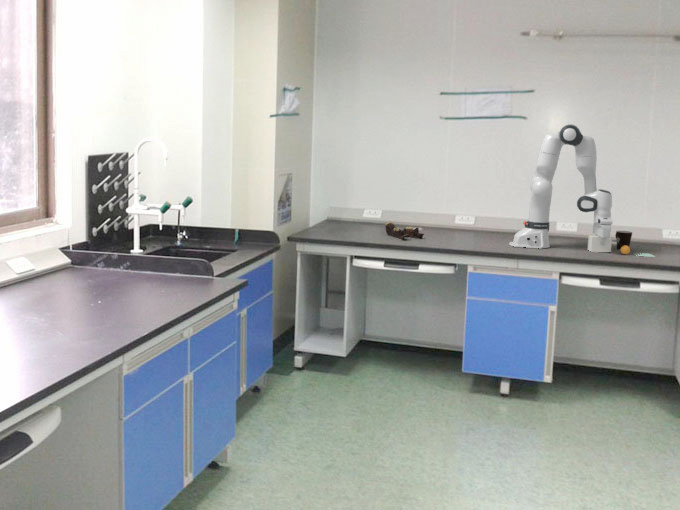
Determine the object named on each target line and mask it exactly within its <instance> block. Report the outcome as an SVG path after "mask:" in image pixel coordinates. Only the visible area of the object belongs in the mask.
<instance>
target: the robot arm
mask: <svg viewBox="0 0 680 510" xmlns="http://www.w3.org/2000/svg"><path fill="white" fill-rule="evenodd" d="M566 145H569V146H573V147H574V150H575V164H576V165H575V166H576V169H577V171H579V173H580V174H581V175H582V177H583V181H584V184H583V185H584V195H582V196H580V197H579V198H578V199H577V201H576V206H577V209H578V210H579V211H580V212H583V213H590V212H594V213H593V225H592V234H593V235H598V236H600V237H601V239H602V240H601V245H602V246H604V245H605V241H606V238H609V237H611V230H612V225H613V220H612V212H611V209H612V206H613V195H612V192H610V191H609V190H607V189H606V190H605V189H601V188H600V189H597V179H596V173H597V172H596V171H597V148H596V141H595V139H594V138H593V137H592V136H590V135H583V134H582V132H581V130H580V129H579V127H578V126H577V125H575V124H572V123H570V124H569V123H568V124H566V125H564V126H563V127H561V128H560V131H559V132H558V133H548V134H546V135H545V136H544V138H543V140H542V143H541V145H540V149H539V153H538V156H537V157H538V158H537V161H536V165H535V169H534V171H533V173H532V174H533V175H532V179H531V182H530V191H531V196H530V204H529V214H528V220H527V221H525V220H523V222H522V224H523V225H524V227H523V228H521V229H520V230H519V231H517V232H516V233H515V234H514V236H513V241H509V243H508V244H509V246H510V247H513V246H514V247H515V248H523V247H526V249H538V248H539V249H541V250H542V249H546V248H550V247H551V246H550V241H549V231H550V210H551V204H552V196H553V184H552V182H553V179H554V178H555V177H554V176H555V173H556V171H557V167H558V164H559V163H558V162H559V159H560V155H561V151H562V148H563V147H564V146H566Z"/></svg>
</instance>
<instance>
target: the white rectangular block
mask: <svg viewBox="0 0 680 510" xmlns="http://www.w3.org/2000/svg"><path fill="white" fill-rule="evenodd" d="M587 239H588V241H587V251H588V250H589V251H588V252H590V251H591V252H590V253H598V252H611V253H612V243H613V237H612V236H610V237H609V238H606V241H605V245H604V246H602V245H601V240H602V239H601V237H600V236H598V235H596V234H588V238H587Z"/></svg>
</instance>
